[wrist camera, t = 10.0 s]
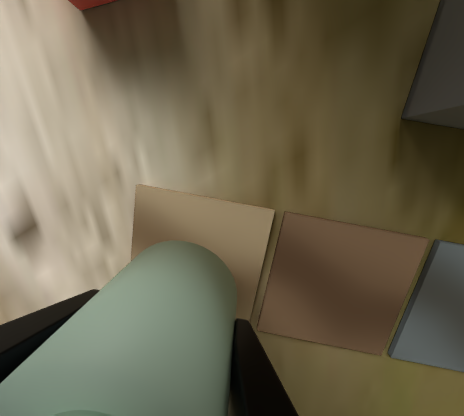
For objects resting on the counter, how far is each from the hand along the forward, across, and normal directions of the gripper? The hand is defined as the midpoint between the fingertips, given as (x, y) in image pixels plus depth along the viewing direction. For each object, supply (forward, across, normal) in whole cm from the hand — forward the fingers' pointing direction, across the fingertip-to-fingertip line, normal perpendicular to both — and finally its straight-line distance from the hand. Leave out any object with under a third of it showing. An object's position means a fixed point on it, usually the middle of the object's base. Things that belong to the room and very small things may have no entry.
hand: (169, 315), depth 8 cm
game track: (+4, -7, 0) cm, 8 cm away
